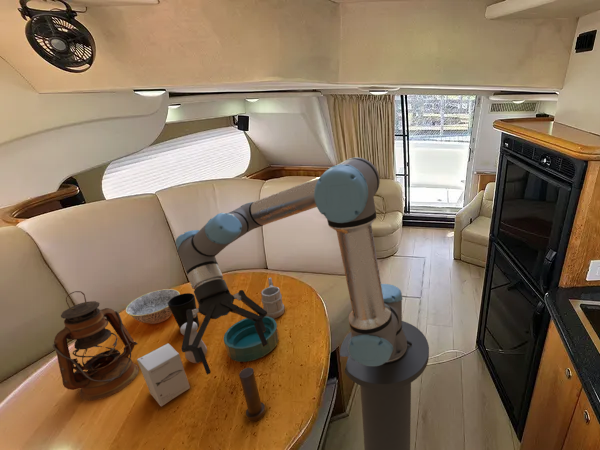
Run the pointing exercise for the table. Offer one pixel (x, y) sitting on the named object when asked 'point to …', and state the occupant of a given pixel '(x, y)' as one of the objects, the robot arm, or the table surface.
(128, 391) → the table surface
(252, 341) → the teal bowl
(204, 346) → the salt shaker
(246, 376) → the walnut stirrer
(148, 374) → the white packaging box
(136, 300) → the bowl
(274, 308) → the mug
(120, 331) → the lantern
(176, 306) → the cup
